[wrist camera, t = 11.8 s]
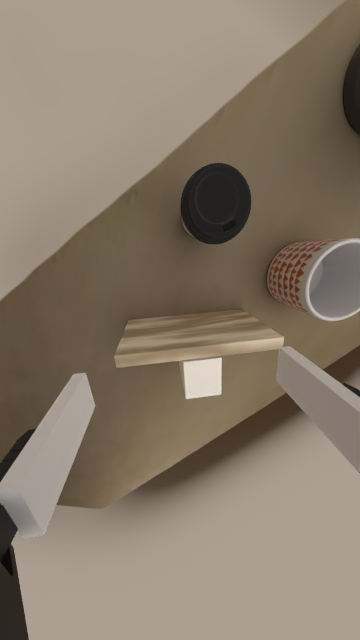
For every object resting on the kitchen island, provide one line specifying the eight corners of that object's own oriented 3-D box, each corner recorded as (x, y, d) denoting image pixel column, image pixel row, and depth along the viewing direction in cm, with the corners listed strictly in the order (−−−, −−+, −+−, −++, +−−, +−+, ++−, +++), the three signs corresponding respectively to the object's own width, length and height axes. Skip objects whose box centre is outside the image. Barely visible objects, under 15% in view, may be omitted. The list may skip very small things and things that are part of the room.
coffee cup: (202, 255, 41) (226, 258, 27) (163, 227, 38) (167, 213, 24) (229, 213, 39) (271, 192, 25) (191, 180, 36) (213, 136, 22)
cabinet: (177, 338, 39) (183, 362, 30) (207, 334, 39) (221, 357, 31) (180, 373, 42) (186, 404, 33) (208, 370, 42) (221, 400, 34)
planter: (253, 282, 44) (289, 294, 32) (295, 227, 41) (352, 218, 29) (293, 314, 48) (339, 335, 36) (335, 266, 45) (399, 271, 33)
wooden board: (128, 319, 44) (114, 355, 29) (242, 309, 46) (284, 337, 31) (133, 351, 46) (122, 400, 31) (240, 340, 49) (278, 380, 34)
